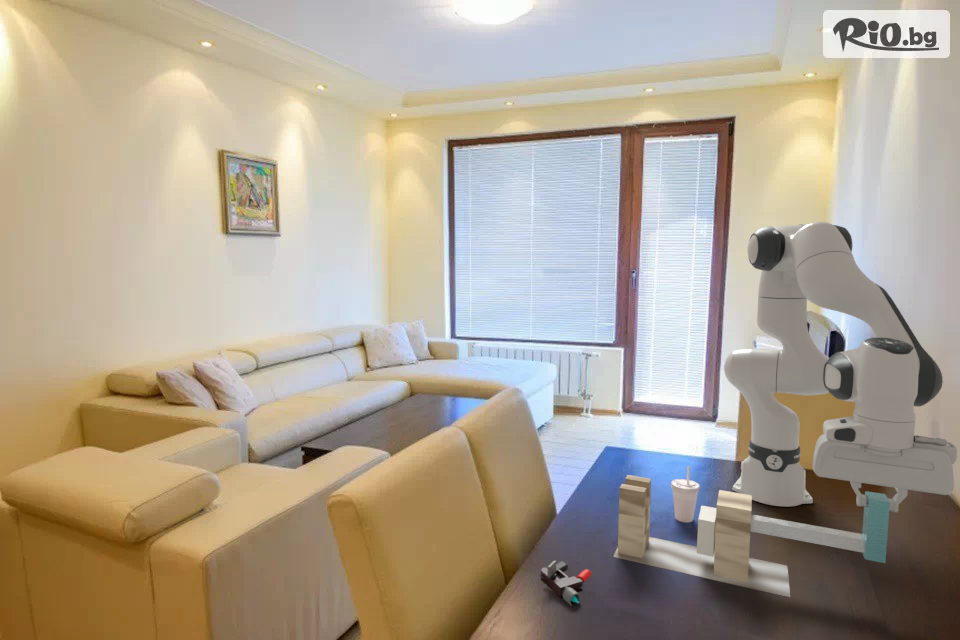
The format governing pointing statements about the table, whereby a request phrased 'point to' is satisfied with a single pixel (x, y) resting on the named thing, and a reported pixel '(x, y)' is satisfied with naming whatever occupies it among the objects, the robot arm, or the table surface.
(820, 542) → the shaft
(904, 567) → the table surface
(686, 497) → the smoothie
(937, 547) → the table surface
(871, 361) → the robot arm
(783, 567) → the stand
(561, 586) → the toy gun
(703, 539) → the collar
